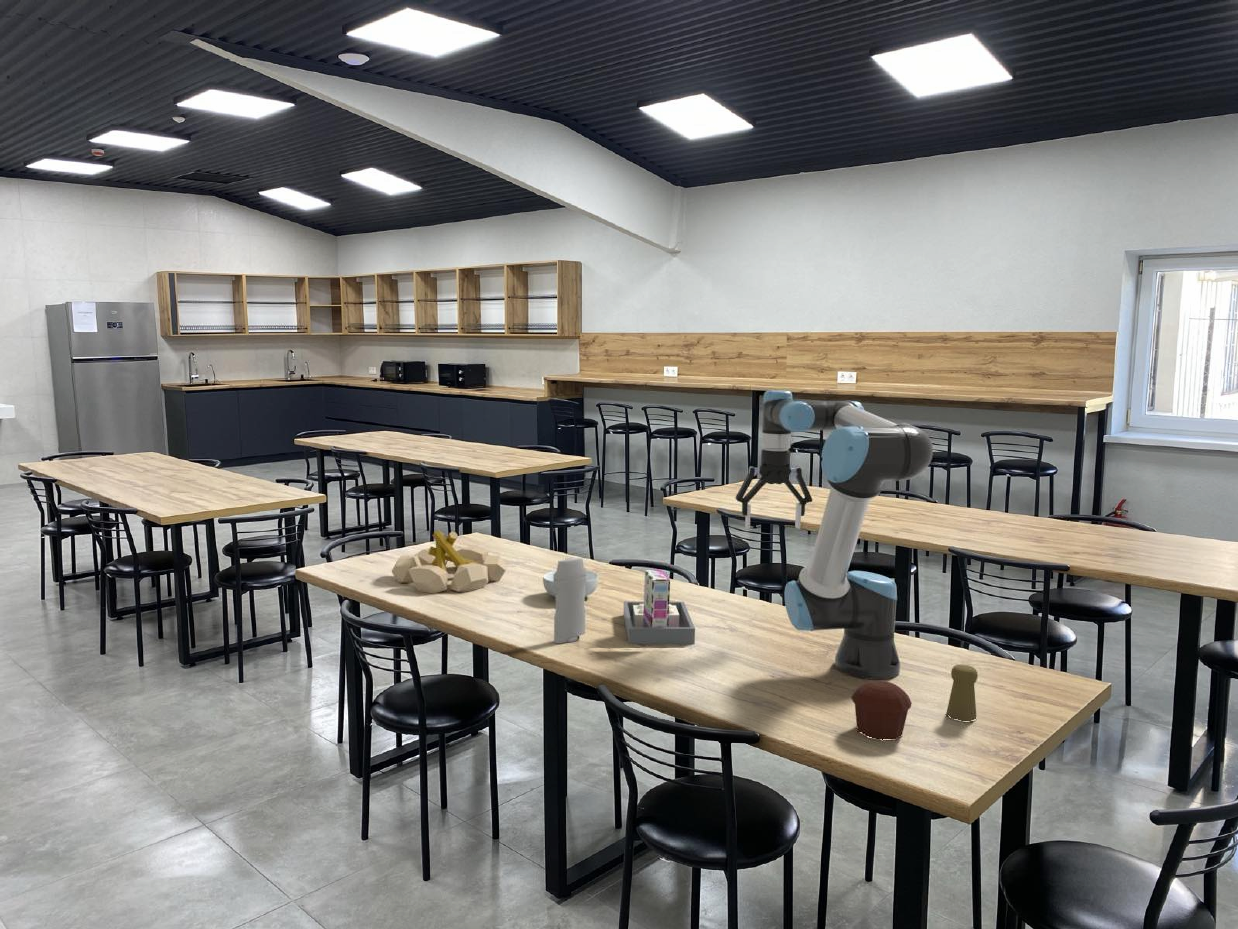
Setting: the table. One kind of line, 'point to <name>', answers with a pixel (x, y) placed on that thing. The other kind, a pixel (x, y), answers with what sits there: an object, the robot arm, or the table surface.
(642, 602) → the tote
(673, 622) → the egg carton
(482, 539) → the table surface
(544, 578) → the cereal bowl
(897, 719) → the muffin
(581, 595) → the tall pale column
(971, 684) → the cork
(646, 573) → the candy bar box
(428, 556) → the campfire
